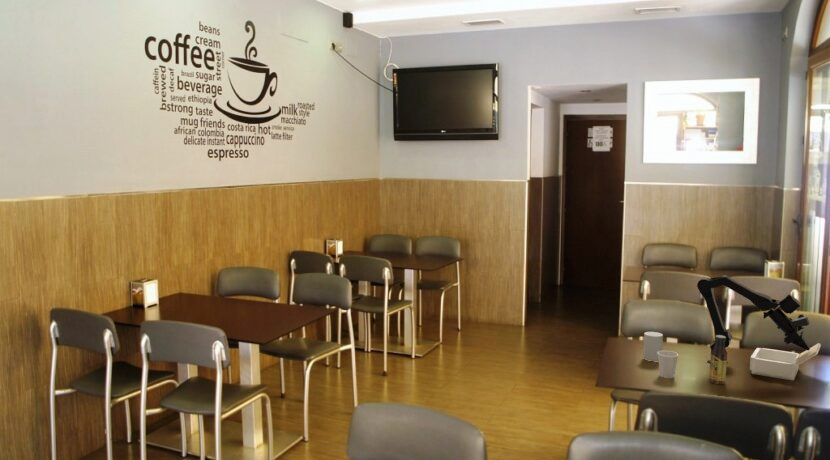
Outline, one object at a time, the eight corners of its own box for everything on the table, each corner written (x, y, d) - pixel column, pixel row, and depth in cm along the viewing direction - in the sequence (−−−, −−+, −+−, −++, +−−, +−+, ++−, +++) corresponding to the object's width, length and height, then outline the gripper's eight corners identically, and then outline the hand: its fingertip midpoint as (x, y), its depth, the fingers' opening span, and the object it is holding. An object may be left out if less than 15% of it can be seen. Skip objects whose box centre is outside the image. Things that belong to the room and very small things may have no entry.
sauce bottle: (706, 380, 286) (708, 333, 283) (720, 379, 286) (722, 333, 284) (714, 385, 279) (716, 338, 277) (728, 385, 280) (731, 337, 277)
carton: (749, 373, 294) (750, 357, 293) (756, 362, 310) (757, 347, 309) (793, 381, 284) (794, 364, 284) (798, 368, 300) (799, 353, 300)
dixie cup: (667, 380, 285) (668, 357, 284) (652, 374, 293) (653, 352, 291) (681, 377, 289) (682, 354, 288) (666, 371, 296) (667, 349, 295)
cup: (661, 357, 317) (662, 332, 315) (661, 362, 309) (663, 337, 308) (643, 356, 319) (644, 331, 318) (643, 361, 312) (644, 335, 310)
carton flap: (815, 352, 280) (817, 354, 280) (819, 342, 294) (820, 344, 293) (796, 363, 284) (797, 365, 284) (800, 353, 298) (802, 355, 298)
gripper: (795, 313, 282) (823, 344, 277) (800, 305, 297) (827, 333, 292) (772, 329, 287) (800, 359, 283) (778, 320, 303) (805, 348, 298)
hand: (809, 349), depth 289 cm, fingers closed
